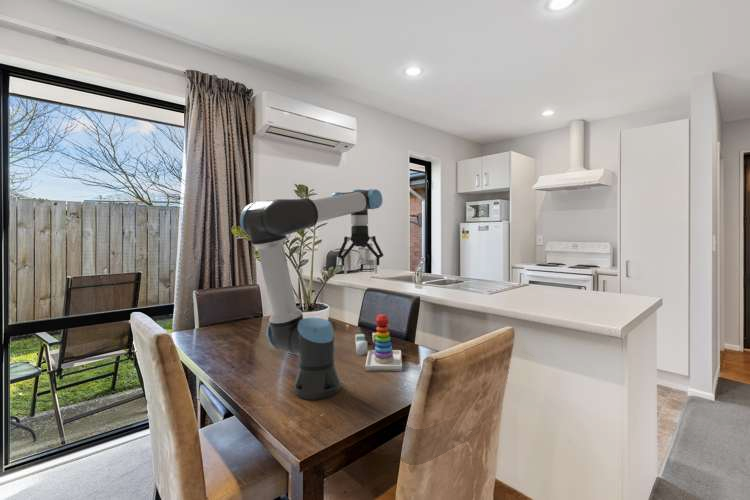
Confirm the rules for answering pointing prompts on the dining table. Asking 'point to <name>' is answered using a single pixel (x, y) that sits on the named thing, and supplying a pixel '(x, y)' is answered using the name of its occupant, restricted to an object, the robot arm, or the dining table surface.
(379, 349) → the stacking toy
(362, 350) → the light grey cube
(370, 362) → the cream tray
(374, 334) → the birch brick
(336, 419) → the dining table surface
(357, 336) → the teal cube
